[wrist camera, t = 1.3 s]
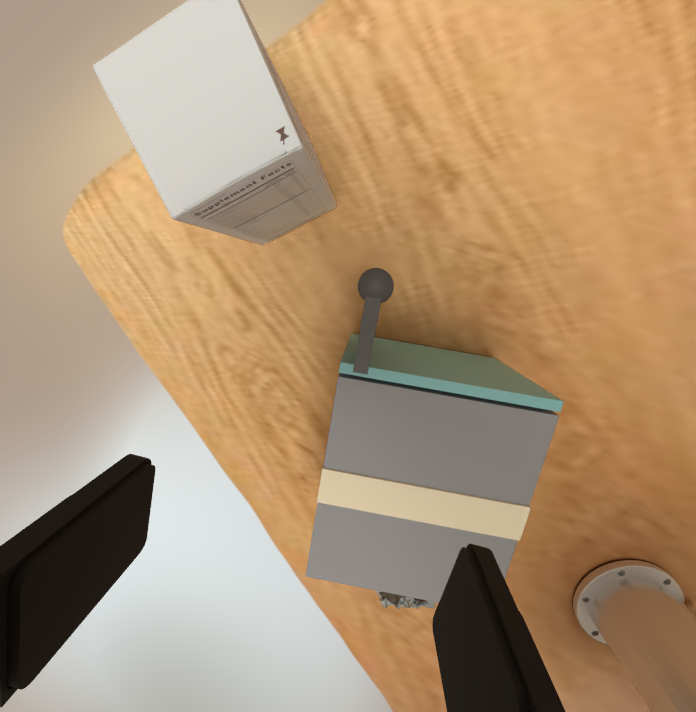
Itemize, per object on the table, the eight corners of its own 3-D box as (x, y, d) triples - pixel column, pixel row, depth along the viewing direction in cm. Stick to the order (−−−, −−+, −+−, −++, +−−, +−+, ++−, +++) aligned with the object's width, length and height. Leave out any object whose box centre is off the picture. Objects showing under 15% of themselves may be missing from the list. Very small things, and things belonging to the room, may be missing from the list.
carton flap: (512, 296, 35) (617, 308, 20) (493, 364, 37) (577, 423, 22) (362, 270, 36) (354, 264, 21) (350, 340, 37) (336, 380, 22)
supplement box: (300, 117, 33) (231, -40, 17) (339, 207, 35) (310, 143, 18) (219, 164, 35) (82, 60, 18) (260, 248, 36) (168, 222, 20)
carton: (491, 366, 37) (561, 417, 24) (453, 504, 42) (494, 616, 28) (350, 341, 38) (337, 377, 24) (326, 480, 42) (304, 578, 28)
